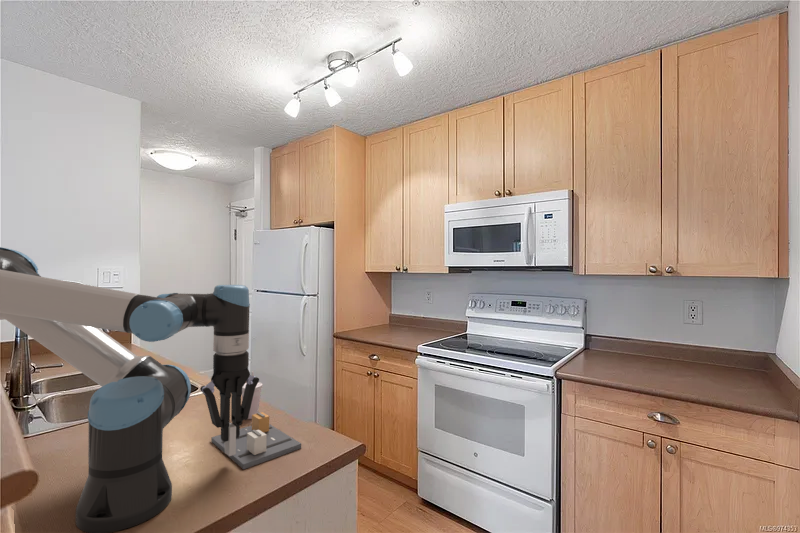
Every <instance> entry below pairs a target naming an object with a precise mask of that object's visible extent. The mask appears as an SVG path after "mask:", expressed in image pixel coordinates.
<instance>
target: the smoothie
mask: <svg viewBox="0 0 800 533" xmlns="http://www.w3.org/2000/svg"><path fill="white" fill-rule="evenodd" d="M254 372H255V370H252V371H251V375H252V376H255V373H254ZM246 384H247V383H245V384H244V386H243V387H242V395H241V400H243V395H244V391H245V387H246ZM263 388H264V387H263V383H262V382H260V381H259V382H258V384H257V385H256V387H255V390H254V395H253V399H252V403H251V408H250V412H249V416H248V419H247V420H252V415H254V414H257V412H259V408H260V402H261V395H262V389H263Z"/></svg>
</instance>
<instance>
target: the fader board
mask: <svg viewBox="0 0 800 533" xmlns="http://www.w3.org/2000/svg"><path fill="white" fill-rule="evenodd" d="M249 432H252V425H248V426H245V427H242V428H241V427H240V435H239V438H236V454H235V455H232V456H228V455H227V454H226V453H225V452H224V450H225V442H223V441H222V440H221V434H218V435H214V436H212V437H211V439H210V442H211V443H212V445H215V446H216V447H217V448H218V449H219V450H220V451H221V452H223V453H224V454H225V455H226V456H227V457H228V458H229V459H230V460H232V461H233V462H234V463H236V464H237V466H239V467H240V468H241V469H242V470H246V469H248V468H252V467H255V466H257V465H260V464H262V463H265V462H268V461H271V460H274V459H276V458H278V457H282V456H284V455H287V454H289V453H292V452H295V451H297V450H300V449H302V443H301V442H299V441H298V440H296V439H295V438H293V437H291V436H290V435H288V434H287V433H285V432H283V431H282V430H280V429H278V428H276V427H275V426H274V425H272V424H270V423H269V431H267V432H264V433H265V434H266V451H265V452H262V453H259V454H256V455H254V454H252V453H251V452H250V451H248V450H247V433H249Z"/></svg>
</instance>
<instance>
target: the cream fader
mask: <svg viewBox="0 0 800 533" xmlns="http://www.w3.org/2000/svg"><path fill="white" fill-rule="evenodd" d="M247 450H248V451H250V452H251V453H252V454H254V455H256V454H259V453H262V452H265V451H266V434H265V433H263V432H262V431H260V430H252V432H249V433H247Z"/></svg>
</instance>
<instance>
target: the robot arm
mask: <svg viewBox="0 0 800 533" xmlns="http://www.w3.org/2000/svg"><path fill="white" fill-rule="evenodd" d="M249 292H250V291H249V288H248V287H247V286H246V285H243V284H218V285H216V286H214V289H213V292H212V293H178V292H173V293H161V294H159V295H157V296H152V295H147V294H140V293H134V292H129V291H124V290H117V289H111V288H105V287H102V286H101V287H100V286H95V285H90V284H83V283H78V282H72V281H67V280H61V279H56V278H49V277H44V276H41V275H40V273H39V268H38V265H37V264H36V262H34V260H33V259H32V258H31V257H30V256H28V255H27V254H25V253H23V252H21V251H18V250H17V249H12V248H7V247H1V246H0V321H1V320H3V321H4V320H5V321H7V322H8V323H10V324H11V325H12V326H14V327H16V328H18V329H19V331H21V332H23V333H24V334H25V335H27V336H29V337H30V338H32V339H33V340H34V341H35V342H37V343H39V344H40V345H42V346H43V347H44V348H46V349H47V350H49V351H50V352H51V353H53V354H54V355H56V356H57V357H59V358H60V359H62V360H63V361H65V362H66V363H67V364H69V365H70V366H72V367H73V368H74V369H76V370H77V371H79V372H80V373H82V374H83V375H84V376H86V377H88V378H89V379H90V380H92V381H93V382H94V383H96V384H97V385H99V386H100V387H99V388H98V389H96V391H95V392H93V394H92V395H91V397H90V400H89V406H88V407H89V409H88V411H87V421H88V446H87V447H88V448H87V450H88V456H87V457H88V459H87V460H88V473H87V478H86V481H85V484H84V487H83V488H82V492H81V494H80V495H79V496H80V497H79V498H78V502H77V504H76V508H75V525H76V527H77V528H78V529H79V530H81V531H82V532H86V533H113V532H119V531H123V530H126V529H129V528H133V527H135V526H137V525H140V524H142V523H145V522H146V521H148V520H150V519H152V518H154V517H155V516H156V515H158V514H159V513H161V512H162V511H164V509H165V508H166V507H167V506H168V505H169V504H170V503H171V500H172V499H173V498H172V497H173V484H172V480H171V478H170V475H169V472H168V470H167V467H166V464H165V463H164V460H163V435H164V434H163V432H164V429H165V428H166V426H167V425H168V424H170V422H171V421H172V420H173V419H174V418H175V417H177V416H178V415H179V414H180V412H181V411H182V410H184V408H185V407H186V405H187V403H188V401H189V398H190V396H191V391H192V384H191V381H190V380H191V379H190V378H189V376H188V374H187V373H186V372H185V371H184V370H183V369H182V368H181V367H179V366H176V365H174V364H173V365H172V364H162V363H161V362H159V361H158V360H157V359H155V358H153V357H152V356H151V355H141V356H140V355H138V354H135V353H134V352H133V351H131V350H130V349H128V348H127V347H126V346H124V345H122V343H121V342H119V341H117V340H116V339H114V338H113V337H112V336H111V335H109V334H108V333H106V332H105V331H104V330H109V331H114V332H121V333H126V334H128V333H129V334H133V335H134V336H135V337H137V339H139V340H141V341H144V342H149V343H150V342H151V343H154V342H159V341H160V342H161V341H165V340H168V339H169V338H171V337H173V336H175V335H176V334H177V333H180V332H182V331H183V330H186V329H188V328H196V327H197V328H198V327H199V328H200V327H208V328H210V327H213V352H214V354H213V360H212V361H213V364H212V366H213V367H212V369H213V374H212V376H211V378H210V382H208V383H207V384H205V385H201V386H200V391H201V392H202V394H203V395H204V398H205V401H206V405H207V408H208V413H209V416H210V420H211V424H212V425H213V426H215V427H216V428H218V429H219V428H220V435H221V440H222V441H223V442H225V450H224V452H225V453H226V454H227V455H228V456H232V455H235V454H236V438H239V435H240V429H241V427H240V426H241V425H242V424H243V421H247V420H249V419H248V416H249V412H250V408H251V403H252V399H253V395H254V390H255V387H256V385H257V384H258V382H260V378H259V377H257V376H255V375H254V376H252V374H251V372H250V371H249V357H250V356H249V352H248V350H249V346H250V330H249V328H250V306H251V304H250V293H249ZM102 329H103V330H102ZM245 383H247V384H246V387H245V391H244V395H243V399H242V387H243V386H244V384H245ZM215 388H216V389H217V390H218V391H219V396H220V398H219V400H220V403H219V404H220V405H219V406H220V407H219V408H218V404H217V400H216V396H215V394H214V393H215ZM219 409H220V410H219ZM230 416H231V417H230ZM230 419H231V421H230ZM224 452H223V453H224ZM225 453H224V454H225ZM226 454H225V455H226ZM227 455H226V456H227ZM228 456H227V457H228Z"/></svg>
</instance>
